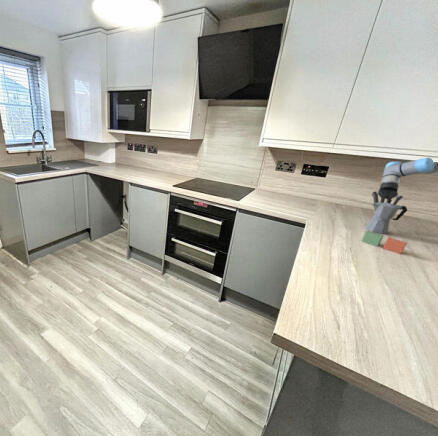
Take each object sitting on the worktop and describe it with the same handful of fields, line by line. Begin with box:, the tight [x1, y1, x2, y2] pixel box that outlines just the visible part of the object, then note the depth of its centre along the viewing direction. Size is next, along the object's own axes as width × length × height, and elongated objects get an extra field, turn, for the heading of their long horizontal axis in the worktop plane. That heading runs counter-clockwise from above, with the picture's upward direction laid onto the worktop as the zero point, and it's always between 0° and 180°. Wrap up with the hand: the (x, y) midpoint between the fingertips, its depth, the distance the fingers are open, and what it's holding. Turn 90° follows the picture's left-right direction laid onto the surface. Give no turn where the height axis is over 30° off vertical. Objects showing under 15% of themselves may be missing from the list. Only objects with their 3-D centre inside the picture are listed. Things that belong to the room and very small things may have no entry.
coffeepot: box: [365, 199, 408, 235], centre depth 126 cm, size 15×9×18 cm, turn 73°
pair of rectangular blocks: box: [361, 230, 408, 255], centre depth 110 cm, size 14×3×5 cm, turn 33°
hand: (381, 218), depth 131 cm, fingers closed
